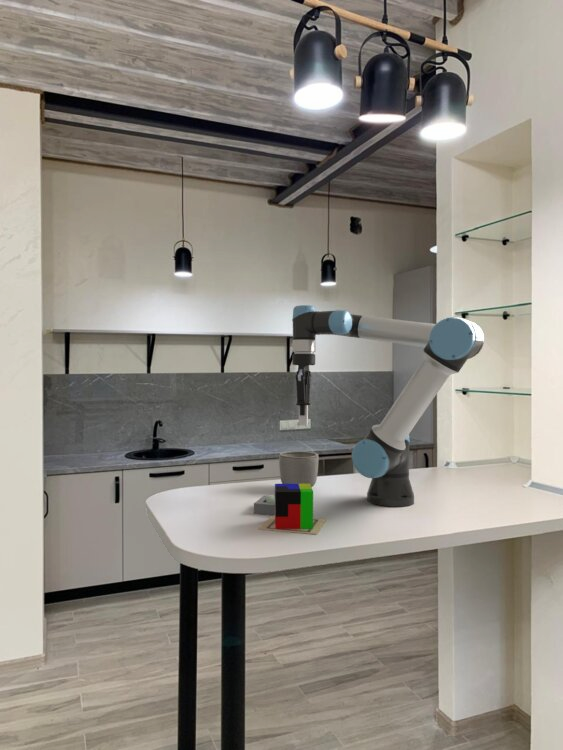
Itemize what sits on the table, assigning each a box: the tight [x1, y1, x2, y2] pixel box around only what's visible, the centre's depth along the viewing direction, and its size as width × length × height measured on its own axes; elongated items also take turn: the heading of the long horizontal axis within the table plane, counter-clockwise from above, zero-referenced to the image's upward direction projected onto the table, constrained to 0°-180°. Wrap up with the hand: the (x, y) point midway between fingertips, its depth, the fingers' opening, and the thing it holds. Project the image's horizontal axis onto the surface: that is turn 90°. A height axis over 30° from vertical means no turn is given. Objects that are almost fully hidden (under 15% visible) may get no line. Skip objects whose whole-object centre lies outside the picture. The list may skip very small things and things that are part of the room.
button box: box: [253, 495, 275, 516], centre depth 166 cm, size 10×10×3 cm
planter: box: [278, 450, 320, 488], centre depth 192 cm, size 14×14×13 cm
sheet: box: [257, 515, 327, 535], centre depth 151 cm, size 16×13×1 cm
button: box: [266, 495, 275, 503], centre depth 166 cm, size 5×5×4 cm
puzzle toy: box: [274, 483, 314, 529], centre depth 151 cm, size 10×10×10 cm
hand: (303, 425), depth 180 cm, fingers closed
